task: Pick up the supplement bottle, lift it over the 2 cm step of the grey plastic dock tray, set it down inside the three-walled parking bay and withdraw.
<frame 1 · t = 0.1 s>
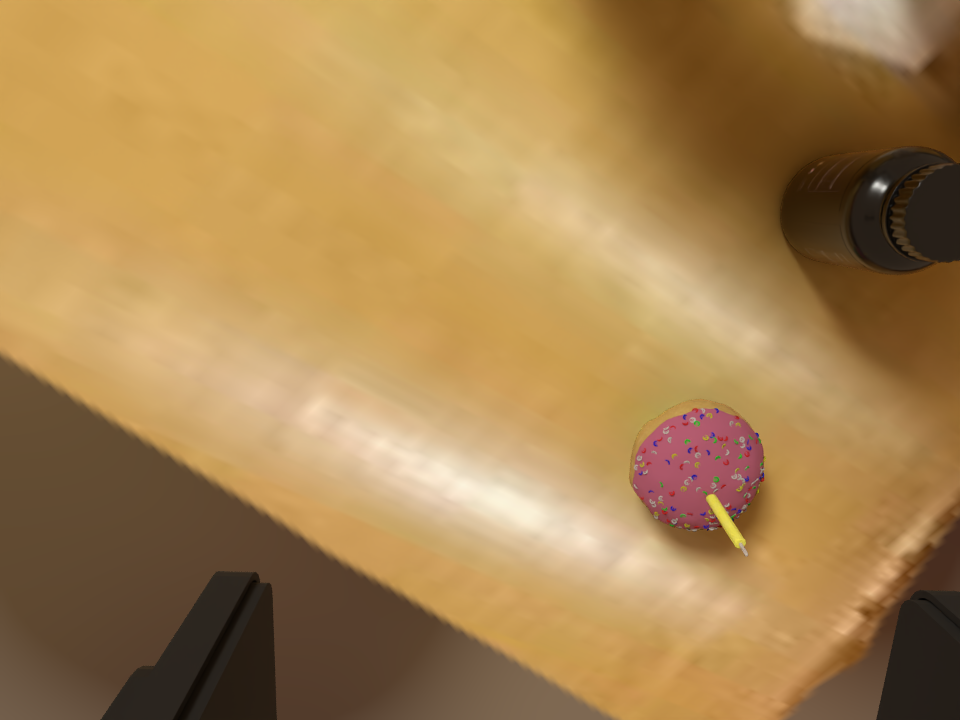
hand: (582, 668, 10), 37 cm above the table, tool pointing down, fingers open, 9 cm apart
supplement bottle: (827, 207, 46), on the table
cupcake: (674, 440, 49), on the table
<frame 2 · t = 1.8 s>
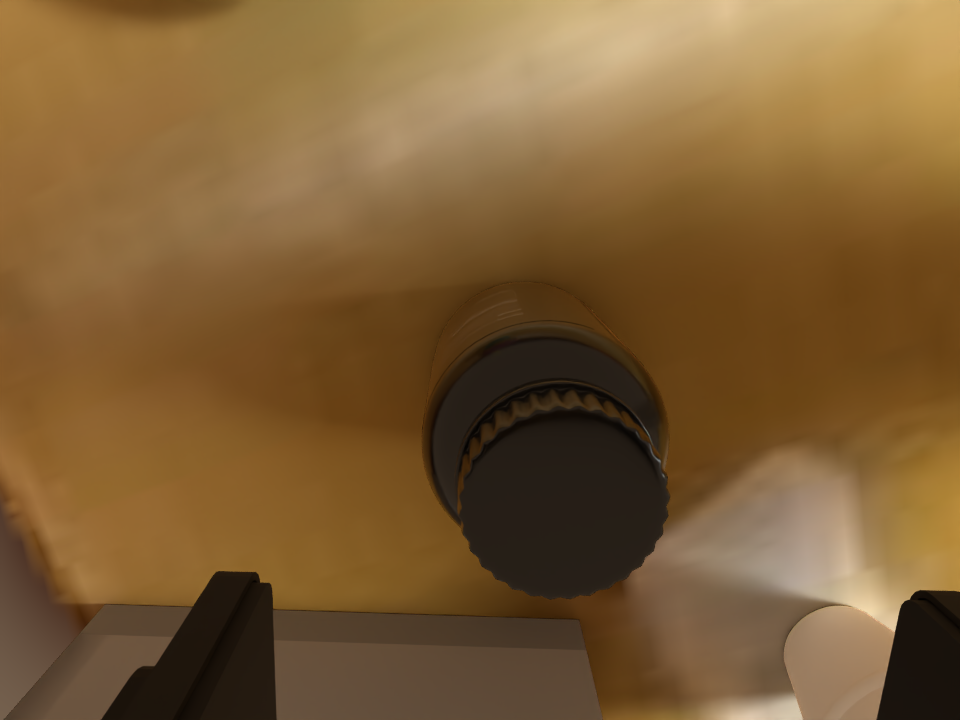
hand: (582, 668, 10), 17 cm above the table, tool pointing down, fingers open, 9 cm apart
soft serve ice cream cone: (829, 645, 30), on the table
supplement bottle: (523, 365, 27), on the table
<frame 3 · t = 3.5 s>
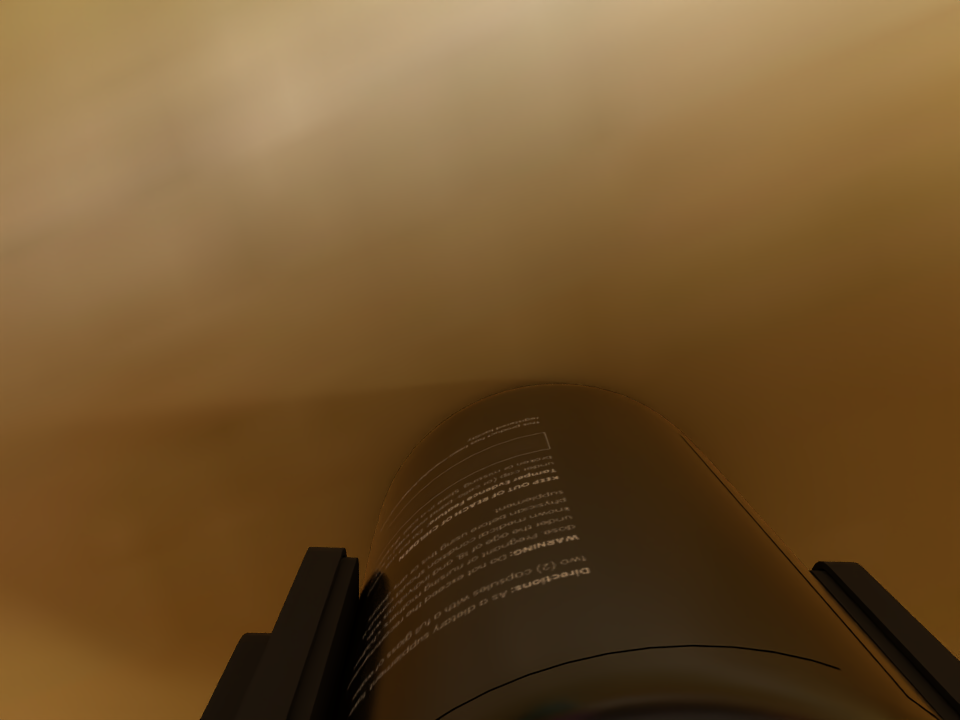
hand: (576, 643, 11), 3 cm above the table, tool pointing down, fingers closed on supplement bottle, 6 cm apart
supplement bottle: (550, 533, 14), on the table, touching gripper
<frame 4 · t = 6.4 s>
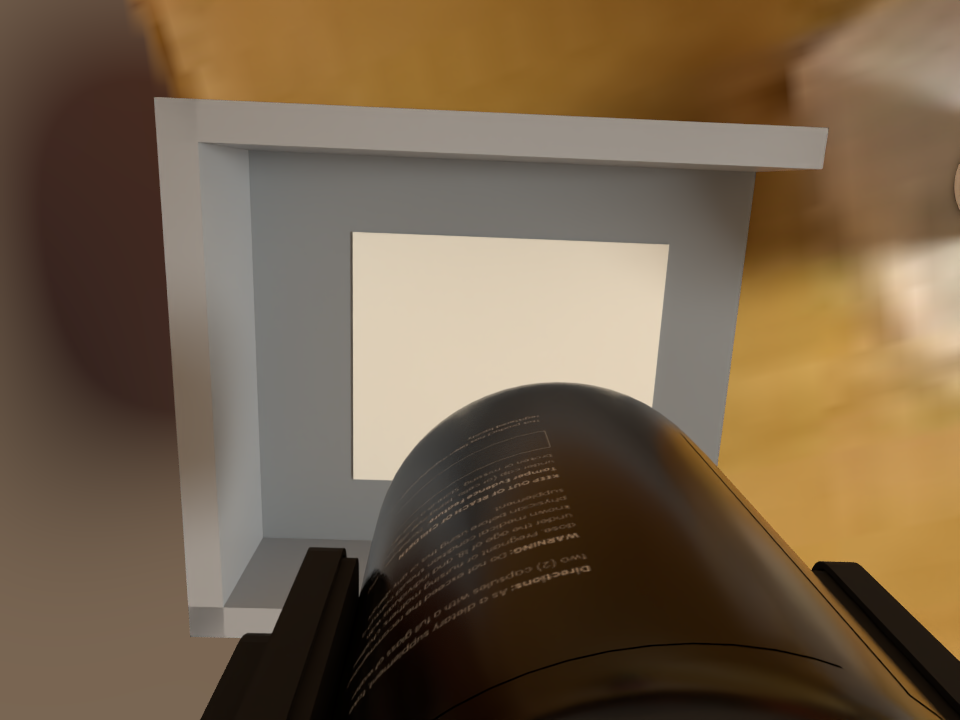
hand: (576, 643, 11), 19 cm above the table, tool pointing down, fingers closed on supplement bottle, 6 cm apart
supplement bottle: (550, 532, 14), point 16 cm above the table, touching gripper
dock: (479, 353, 30), on the table
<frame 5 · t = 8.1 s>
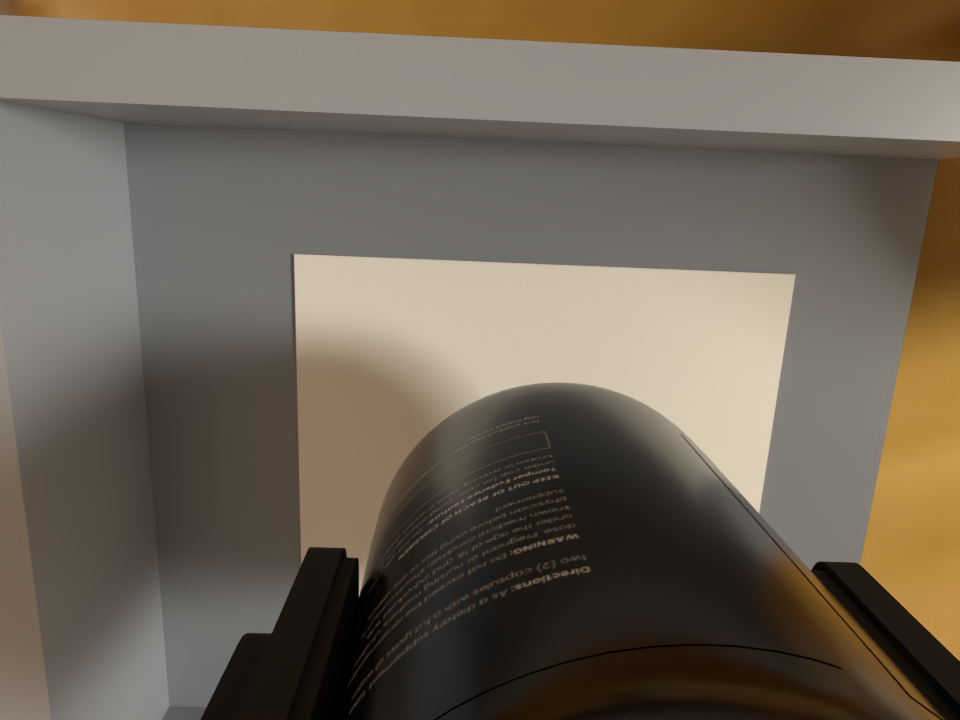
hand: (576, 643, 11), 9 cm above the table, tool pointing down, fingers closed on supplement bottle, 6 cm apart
supplement bottle: (550, 533, 14), point 6 cm above the table, touching gripper
dock: (492, 430, 20), on the table
when the fingers open (7 cm above the table, at t = 9.6 s): supplement bottle drops 2 cm, resting on dock.
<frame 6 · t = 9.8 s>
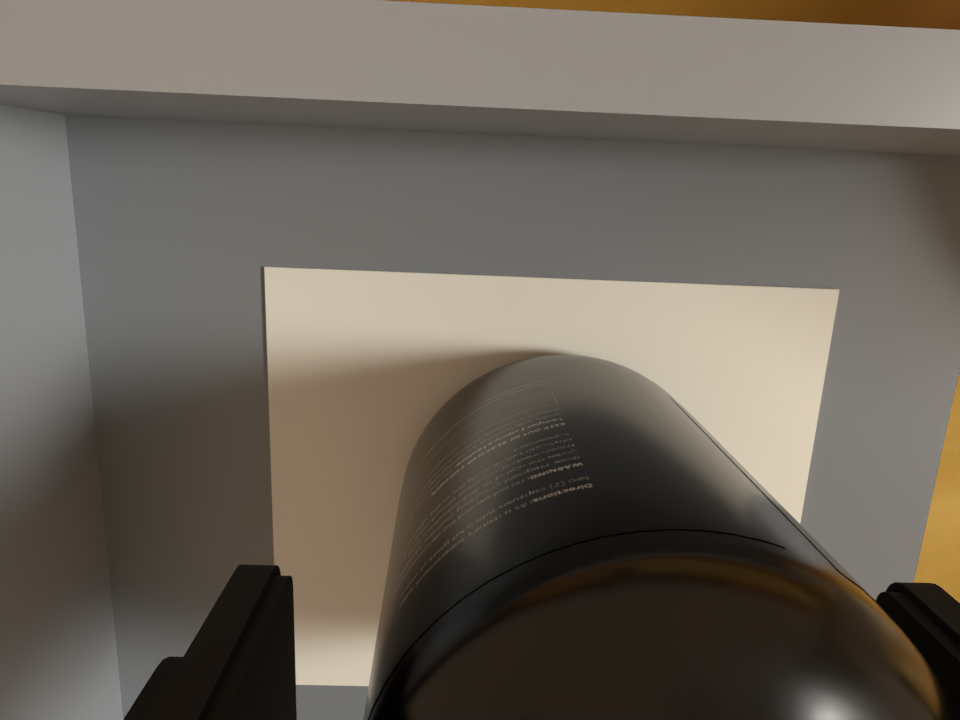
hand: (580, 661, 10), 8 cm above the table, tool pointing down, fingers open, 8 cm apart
supplement bottle: (556, 491, 16), point 2 cm above the table, touching dock
dock: (492, 462, 18), on the table
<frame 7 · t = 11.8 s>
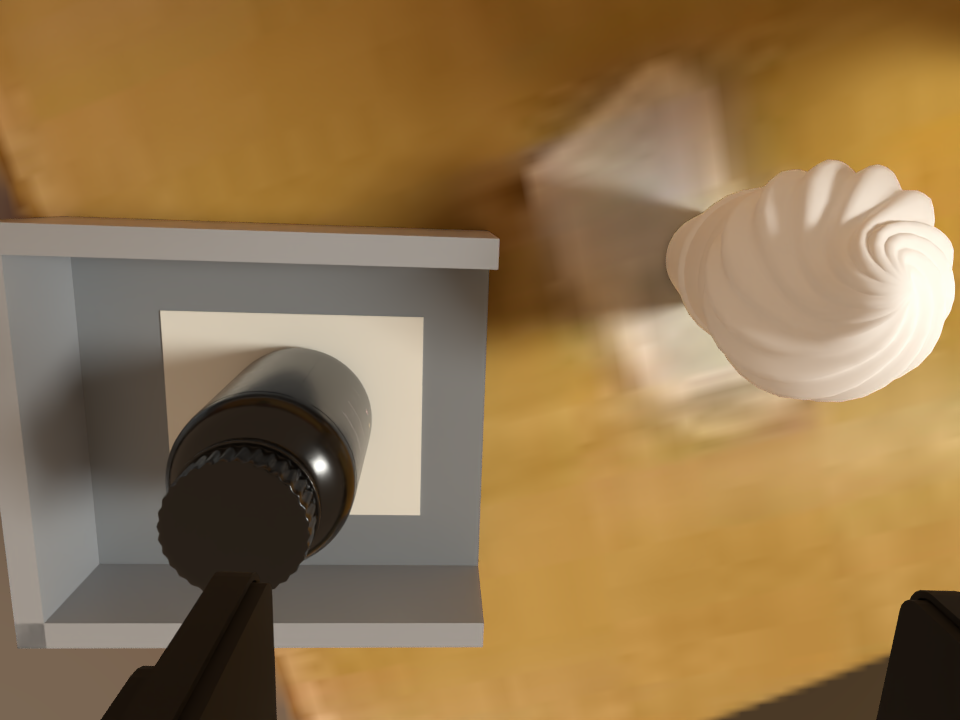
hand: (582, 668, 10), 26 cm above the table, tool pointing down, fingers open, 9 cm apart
soft serve ice cream cone: (705, 258, 35), on the table
supplement bottle: (304, 413, 34), point 2 cm above the table, touching dock
dock: (284, 404, 35), on the table
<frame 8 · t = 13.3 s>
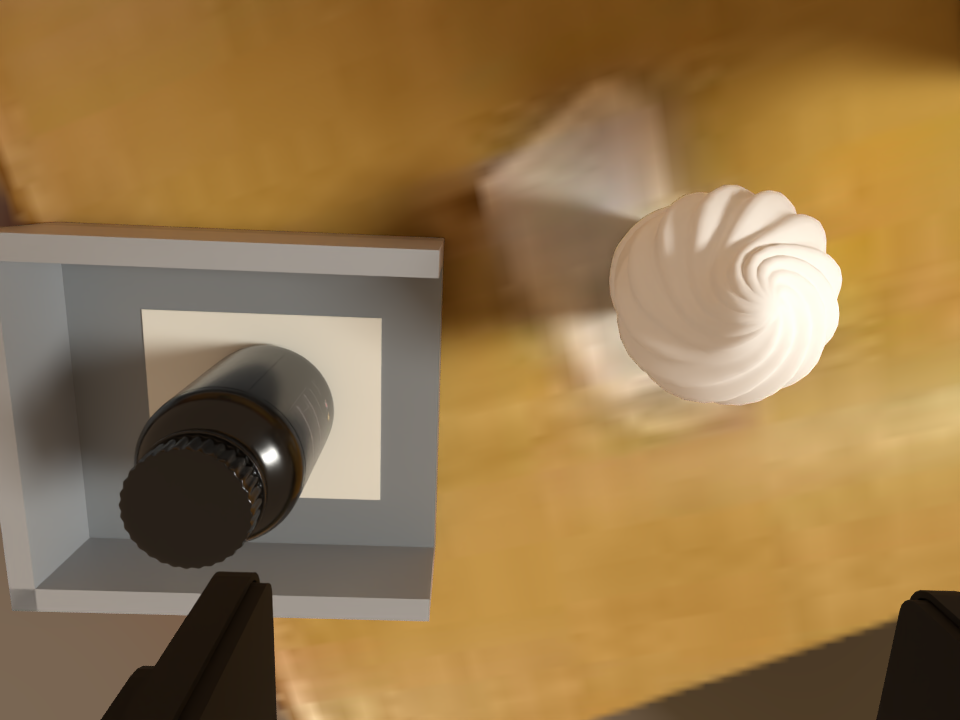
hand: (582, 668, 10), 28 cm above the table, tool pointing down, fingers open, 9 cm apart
soft serve ice cream cone: (649, 264, 37), on the table
supplement bottle: (273, 404, 37), point 2 cm above the table, touching dock
dock: (257, 395, 39), on the table
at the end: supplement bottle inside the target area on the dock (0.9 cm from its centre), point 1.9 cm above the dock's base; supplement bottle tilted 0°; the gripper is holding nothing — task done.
